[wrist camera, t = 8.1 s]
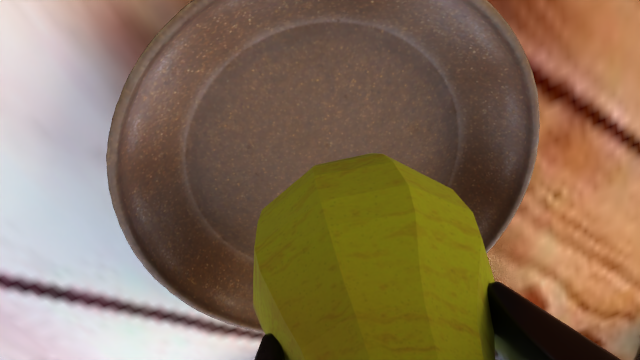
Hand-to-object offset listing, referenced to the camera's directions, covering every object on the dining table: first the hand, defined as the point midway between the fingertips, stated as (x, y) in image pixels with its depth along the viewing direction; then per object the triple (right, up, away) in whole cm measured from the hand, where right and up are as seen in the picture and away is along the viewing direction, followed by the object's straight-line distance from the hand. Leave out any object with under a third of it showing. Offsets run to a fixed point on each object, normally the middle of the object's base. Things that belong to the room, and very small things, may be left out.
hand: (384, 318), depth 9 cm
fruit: (-1, +2, +4) cm, 5 cm away
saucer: (-1, +4, +7) cm, 8 cm away
